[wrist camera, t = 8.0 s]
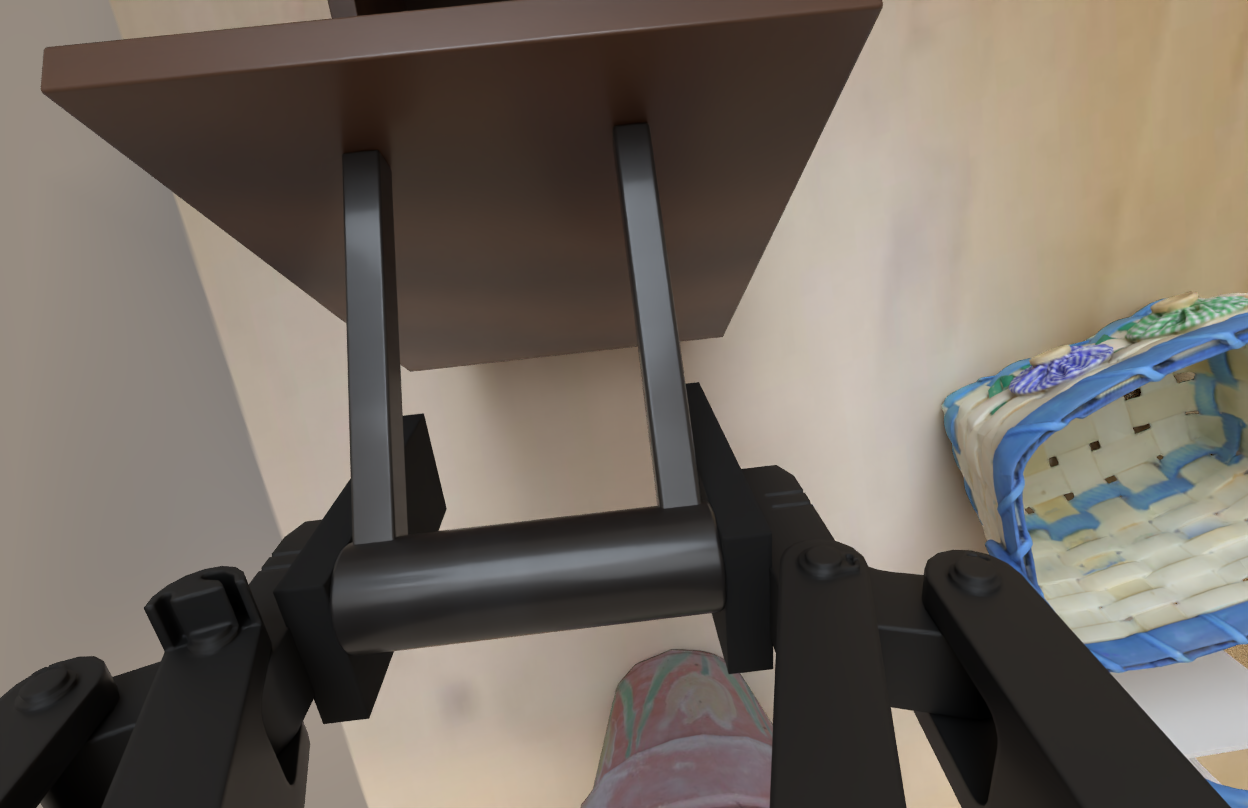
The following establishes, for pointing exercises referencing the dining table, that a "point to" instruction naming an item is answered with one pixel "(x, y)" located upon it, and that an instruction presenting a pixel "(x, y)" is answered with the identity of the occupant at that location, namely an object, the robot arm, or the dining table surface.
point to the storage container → (1195, 703)
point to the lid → (496, 243)
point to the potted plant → (684, 738)
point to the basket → (1123, 481)
